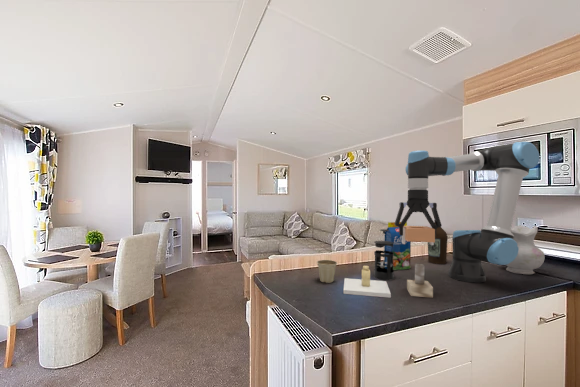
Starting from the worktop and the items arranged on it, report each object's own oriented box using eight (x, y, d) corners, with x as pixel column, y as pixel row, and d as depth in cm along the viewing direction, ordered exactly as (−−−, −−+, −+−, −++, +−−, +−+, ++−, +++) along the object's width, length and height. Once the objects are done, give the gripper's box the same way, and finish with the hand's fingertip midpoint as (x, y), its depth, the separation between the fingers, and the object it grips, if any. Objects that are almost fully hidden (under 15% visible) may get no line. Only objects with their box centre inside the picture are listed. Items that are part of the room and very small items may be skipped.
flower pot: (341, 280, 128) (341, 262, 128) (329, 285, 122) (329, 265, 122) (324, 276, 135) (324, 258, 135) (312, 281, 128) (312, 262, 128)
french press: (399, 279, 130) (399, 230, 130) (380, 281, 128) (381, 231, 128) (385, 272, 142) (385, 227, 142) (368, 273, 140) (368, 228, 140)
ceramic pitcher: (530, 281, 133) (536, 229, 131) (485, 268, 149) (490, 222, 148) (548, 275, 144) (554, 227, 142) (504, 264, 160) (508, 221, 159)
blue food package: (384, 267, 152) (384, 221, 152) (402, 266, 155) (403, 221, 155) (391, 270, 146) (391, 223, 146) (410, 269, 149) (410, 222, 149)
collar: (426, 238, 117) (426, 226, 117) (434, 242, 107) (434, 229, 107) (401, 237, 119) (401, 225, 119) (407, 241, 109) (407, 228, 109)
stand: (427, 290, 116) (427, 263, 116) (432, 297, 108) (433, 267, 108) (407, 289, 118) (407, 261, 118) (410, 295, 110) (411, 266, 110)
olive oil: (432, 259, 172) (433, 218, 172) (450, 263, 163) (451, 220, 163) (423, 261, 166) (423, 219, 166) (441, 265, 157) (442, 221, 157)
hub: (386, 284, 123) (386, 263, 123) (390, 297, 108) (390, 273, 108) (344, 281, 127) (344, 260, 127) (343, 293, 112) (343, 270, 112)
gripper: (444, 189, 115) (444, 243, 115) (387, 189, 119) (386, 241, 119) (451, 189, 108) (451, 247, 107) (390, 188, 111) (389, 244, 111)
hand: (417, 244), depth 113 cm, fingers closed on collar, 10 cm apart
